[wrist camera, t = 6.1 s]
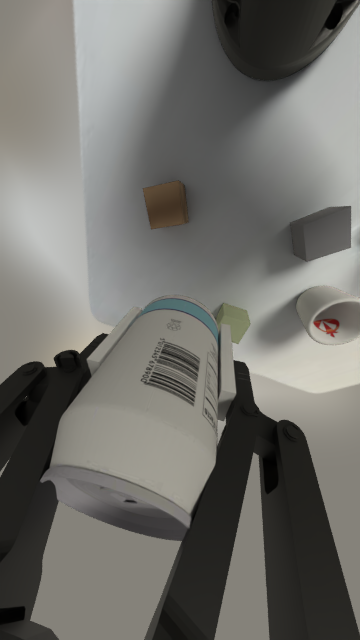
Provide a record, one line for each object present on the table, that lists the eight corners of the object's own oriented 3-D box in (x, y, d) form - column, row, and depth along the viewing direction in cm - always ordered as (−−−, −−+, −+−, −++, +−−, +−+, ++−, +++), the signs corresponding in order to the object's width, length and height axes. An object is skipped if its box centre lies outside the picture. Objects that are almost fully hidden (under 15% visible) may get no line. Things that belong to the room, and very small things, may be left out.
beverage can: (129, 313, 17) (-10, 471, 7) (189, 273, 14) (101, 454, 4) (173, 362, 19) (120, 534, 9) (233, 337, 16) (255, 559, 6)
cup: (365, 269, 28) (410, 288, 22) (357, 312, 32) (395, 339, 25) (289, 285, 32) (308, 305, 25) (290, 322, 35) (307, 348, 29)
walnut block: (154, 191, 28) (142, 188, 24) (184, 185, 27) (178, 180, 23) (160, 226, 31) (151, 229, 27) (188, 222, 30) (183, 223, 25)
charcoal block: (289, 222, 27) (303, 224, 23) (329, 207, 25) (351, 206, 21) (294, 254, 29) (306, 261, 25) (330, 242, 27) (350, 247, 23)
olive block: (223, 302, 36) (224, 314, 32) (246, 310, 36) (250, 323, 32) (214, 322, 39) (213, 335, 34) (235, 329, 38) (238, 344, 34)
